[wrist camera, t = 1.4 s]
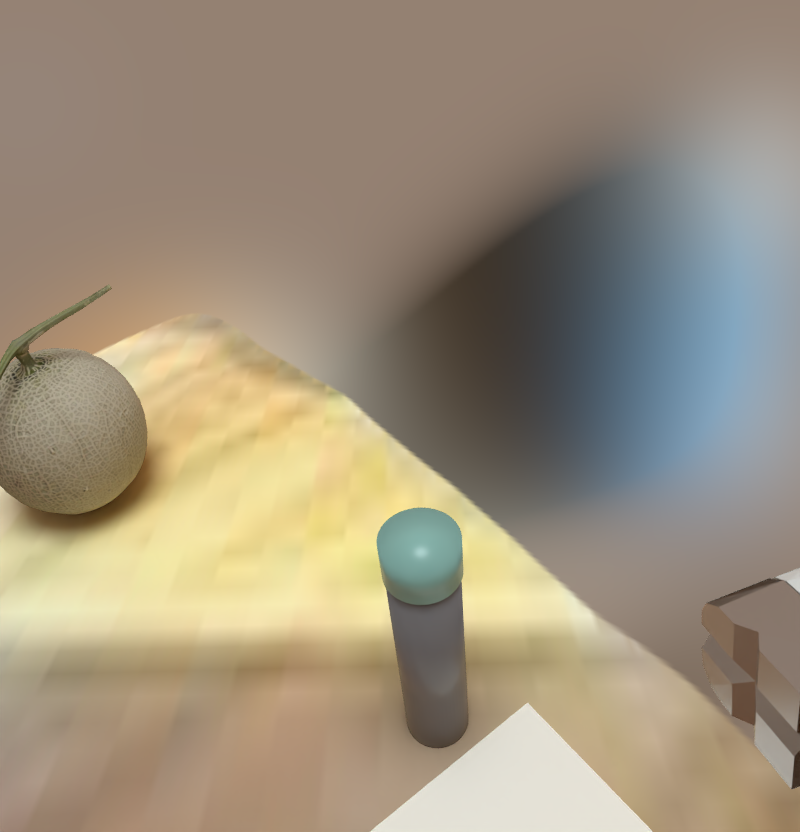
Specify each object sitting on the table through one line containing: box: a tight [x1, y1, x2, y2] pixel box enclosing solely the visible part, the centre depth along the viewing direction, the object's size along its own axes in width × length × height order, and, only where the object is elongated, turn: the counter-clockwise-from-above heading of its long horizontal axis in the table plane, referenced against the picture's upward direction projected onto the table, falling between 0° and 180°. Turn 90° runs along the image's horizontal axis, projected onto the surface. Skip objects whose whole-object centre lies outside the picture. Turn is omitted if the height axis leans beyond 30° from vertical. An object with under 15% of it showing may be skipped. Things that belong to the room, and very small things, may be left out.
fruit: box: [0, 285, 147, 514], centre depth 48 cm, size 10×12×15 cm
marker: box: [377, 508, 468, 748], centre depth 33 cm, size 3×3×14 cm
